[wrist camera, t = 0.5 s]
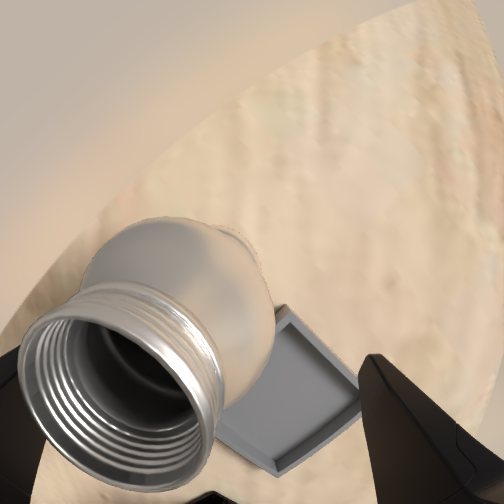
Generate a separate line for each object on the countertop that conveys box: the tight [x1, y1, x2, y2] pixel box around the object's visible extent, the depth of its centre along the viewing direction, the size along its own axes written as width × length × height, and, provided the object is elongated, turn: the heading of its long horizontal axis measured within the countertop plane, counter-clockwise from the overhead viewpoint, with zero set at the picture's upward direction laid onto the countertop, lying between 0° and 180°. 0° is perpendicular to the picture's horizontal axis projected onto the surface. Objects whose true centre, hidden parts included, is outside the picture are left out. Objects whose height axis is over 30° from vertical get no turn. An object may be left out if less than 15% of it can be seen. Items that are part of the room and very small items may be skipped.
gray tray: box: [214, 304, 362, 478], centre depth 24 cm, size 12×12×2 cm
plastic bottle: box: [17, 216, 275, 493], centre depth 14 cm, size 6×7×20 cm
